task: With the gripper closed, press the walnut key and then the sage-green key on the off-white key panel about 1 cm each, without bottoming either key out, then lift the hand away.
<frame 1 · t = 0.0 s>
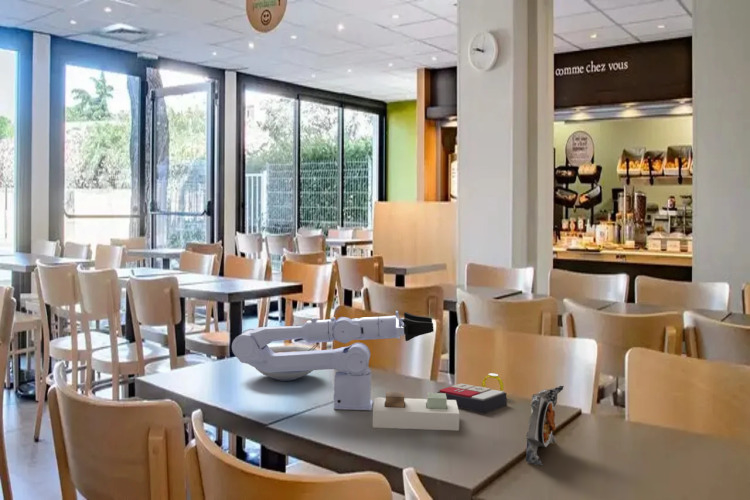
hand: (432, 324, 171), 22 cm above the table, tool horizontal, fingers open, 7 cm apart
key panel: (415, 421, 161), on the table
ramen bowl: (285, 378, 200), on the table
calculator: (471, 405, 178), on the table
sage key: (436, 402, 161), point 5 cm above the table, slide at 0.0 cm
walnut key: (395, 401, 161), point 5 cm above the table, slide at 0.0 cm
meal: (544, 454, 142), on the table
watch: (492, 395, 186), on the table
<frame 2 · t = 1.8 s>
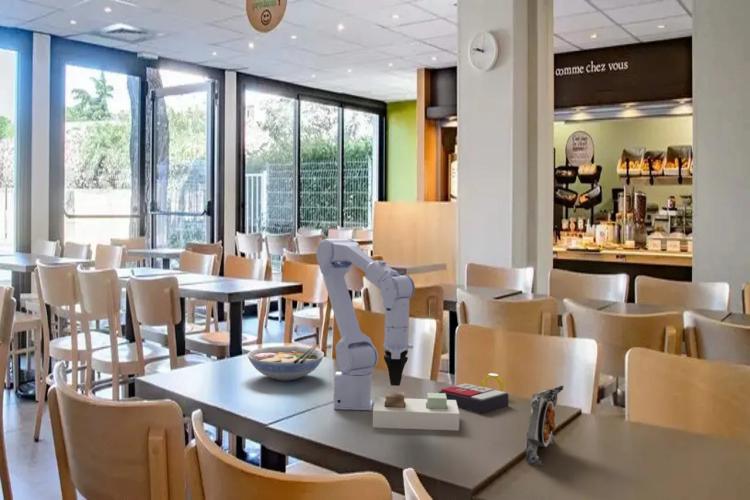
hand: (395, 382, 161), 9 cm above the table, tool pointing down, fingers open, 5 cm apart
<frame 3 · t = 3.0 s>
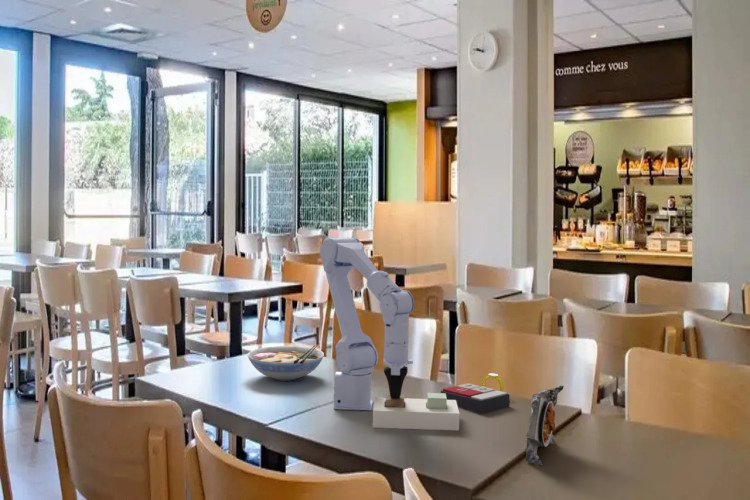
hand: (395, 397, 161), 6 cm above the table, tool pointing down, fingers closed, pressing on walnut key
walnut key: (394, 404, 161), point 4 cm above the table, slide at 0.8 cm, touching gripper
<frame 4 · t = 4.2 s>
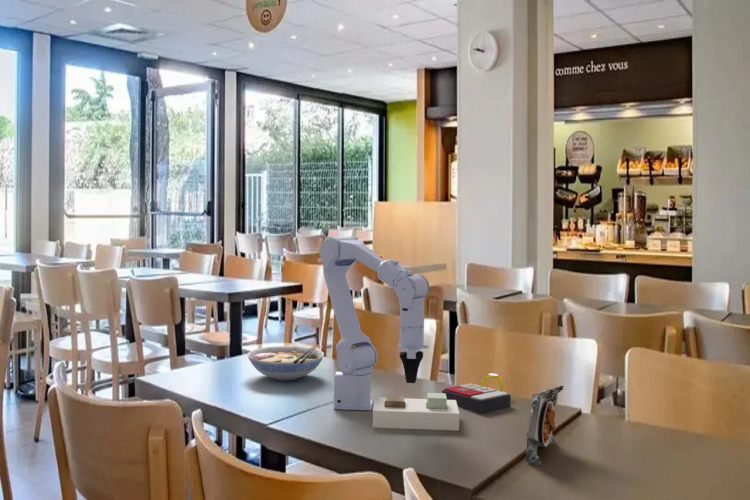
hand: (410, 382, 161), 10 cm above the table, tool pointing down, fingers closed
walnut key: (394, 405, 161), point 4 cm above the table, slide at 1.1 cm
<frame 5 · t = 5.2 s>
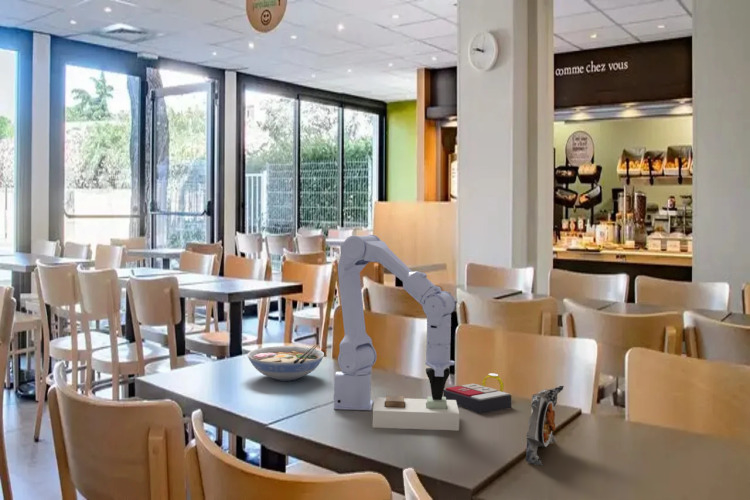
hand: (436, 399, 161), 6 cm above the table, tool pointing down, fingers closed, pressing on sage key
sage key: (436, 406, 161), point 4 cm above the table, slide at 0.8 cm, touching gripper
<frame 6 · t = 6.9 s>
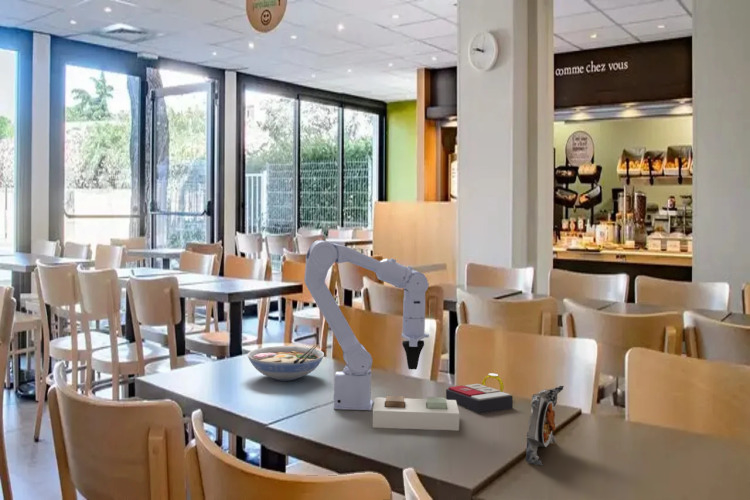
hand: (412, 368, 175), 9 cm above the table, tool pointing down, fingers closed
sage key: (436, 407, 161), point 4 cm above the table, slide at 1.1 cm
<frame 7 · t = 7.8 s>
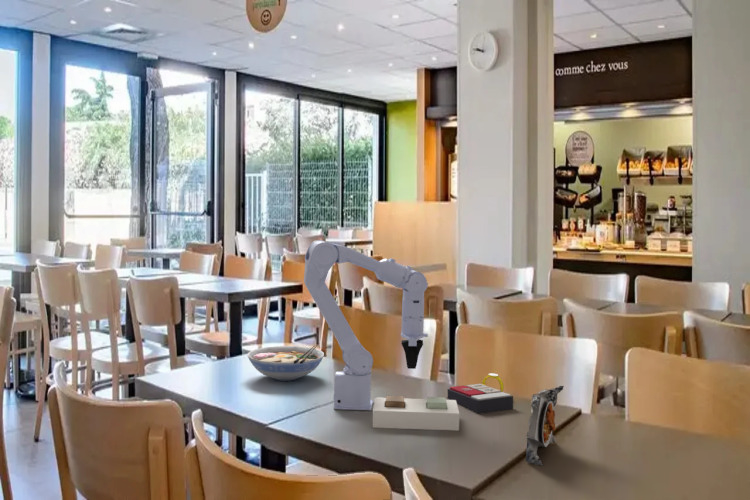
hand: (411, 368, 176), 9 cm above the table, tool pointing down, fingers closed
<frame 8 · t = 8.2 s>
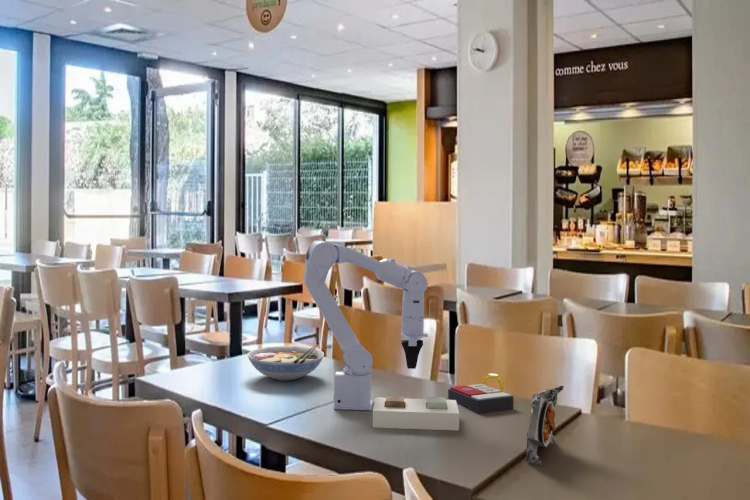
hand: (411, 368, 176), 9 cm above the table, tool pointing down, fingers closed
at the end: walnut key slide at 1.1 cm; sage key slide at 1.1 cm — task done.
